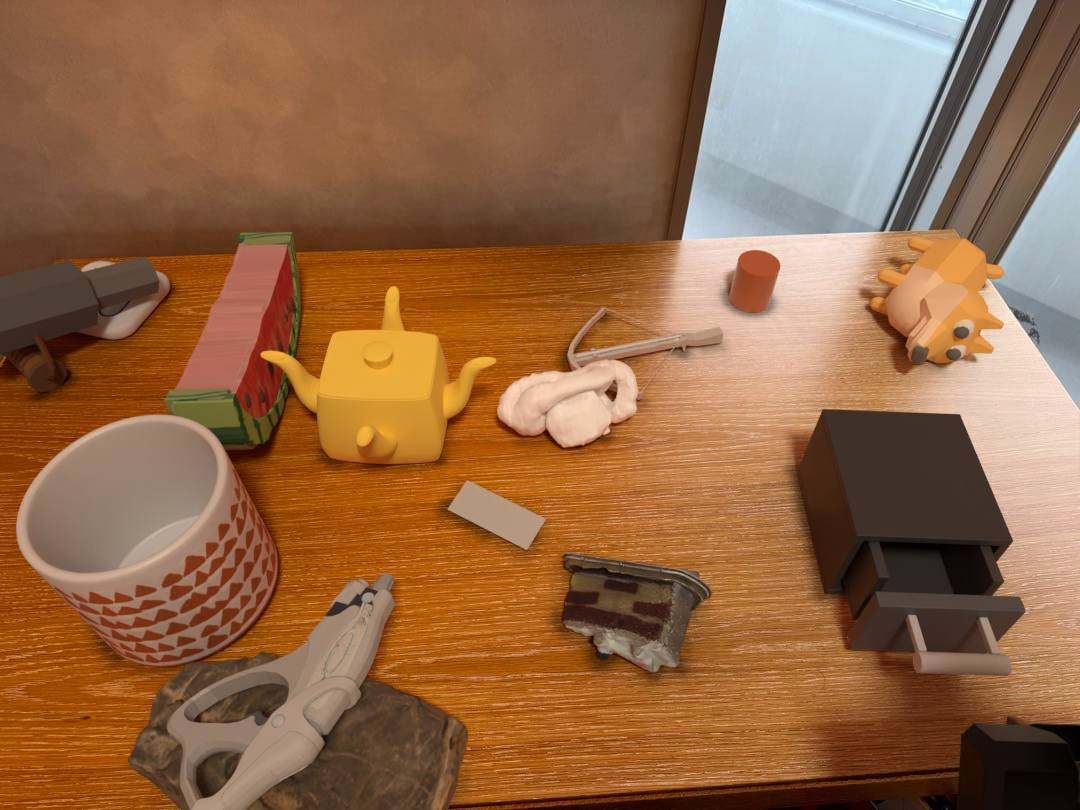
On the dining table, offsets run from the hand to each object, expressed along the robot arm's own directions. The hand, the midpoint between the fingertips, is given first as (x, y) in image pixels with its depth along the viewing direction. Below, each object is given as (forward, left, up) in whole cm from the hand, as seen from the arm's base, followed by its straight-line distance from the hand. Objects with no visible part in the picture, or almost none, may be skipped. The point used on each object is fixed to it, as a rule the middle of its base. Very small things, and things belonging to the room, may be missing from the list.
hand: (1056, 726), depth 47 cm
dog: (+33, -40, -10) cm, 53 cm away
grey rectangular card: (+38, +9, -12) cm, 41 cm away
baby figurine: (+46, -5, -8) cm, 47 cm away
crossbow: (+44, -15, -13) cm, 48 cm away
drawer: (+10, -9, -12) cm, 18 cm away
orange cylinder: (+42, -30, -13) cm, 53 cm away
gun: (+39, +32, -7) cm, 51 cm away
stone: (+32, +32, -13) cm, 47 cm away
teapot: (+53, +10, -13) cm, 55 cm away
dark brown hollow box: (+16, -14, -13) cm, 25 cm away
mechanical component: (+81, +25, -3) cm, 85 cm away
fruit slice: (+64, +17, -12) cm, 67 cm away
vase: (+49, +31, -12) cm, 59 cm away
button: (+88, +17, -12) cm, 91 cm away
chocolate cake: (+24, +8, -13) cm, 29 cm away
